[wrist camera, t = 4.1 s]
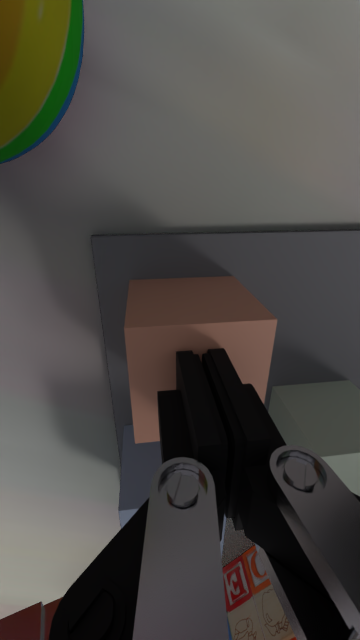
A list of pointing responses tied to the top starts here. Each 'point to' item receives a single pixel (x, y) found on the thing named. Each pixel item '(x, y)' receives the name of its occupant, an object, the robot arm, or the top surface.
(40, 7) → the decorative egg
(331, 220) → the top surface
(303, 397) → the sage cube
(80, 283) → the top surface
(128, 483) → the slate-blue cube
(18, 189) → the top surface
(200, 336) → the terracotta cube
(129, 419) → the charcoal mat
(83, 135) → the top surface
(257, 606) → the stack of blocks
